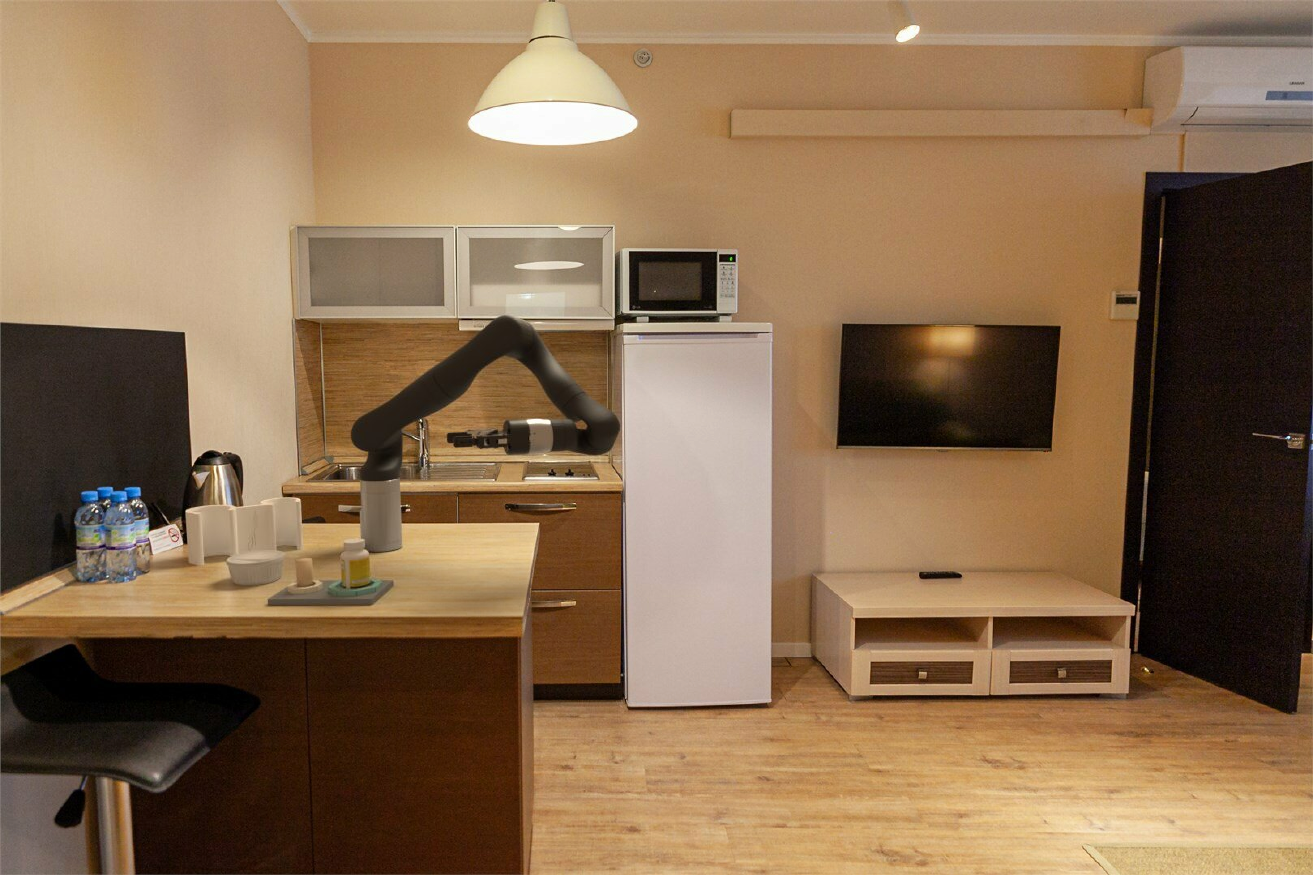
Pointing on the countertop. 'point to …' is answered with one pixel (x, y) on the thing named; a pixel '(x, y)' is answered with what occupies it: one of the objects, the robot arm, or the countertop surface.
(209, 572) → the countertop surface
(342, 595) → the socket board
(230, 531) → the bracket
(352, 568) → the supplement bottle
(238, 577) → the ramekin
